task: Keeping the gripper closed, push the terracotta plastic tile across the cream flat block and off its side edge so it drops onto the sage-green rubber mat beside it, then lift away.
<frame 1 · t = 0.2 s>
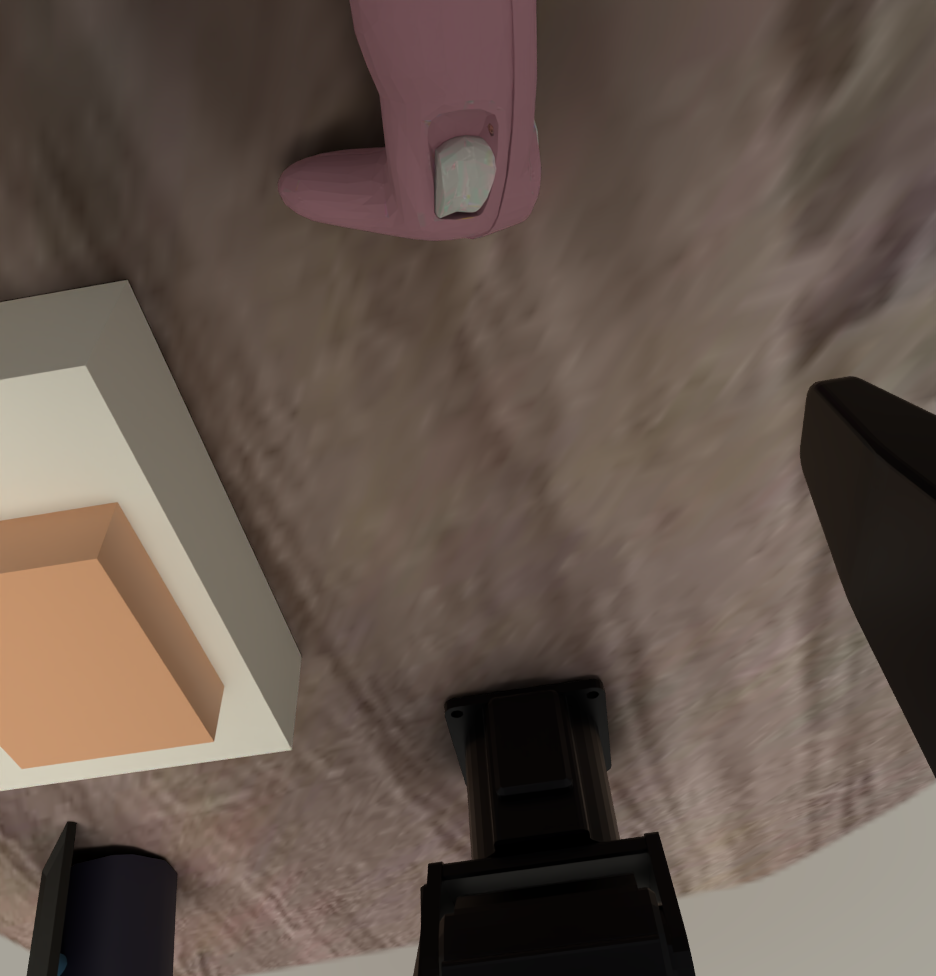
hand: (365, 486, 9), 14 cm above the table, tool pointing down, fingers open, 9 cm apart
cream flat block: (51, 532, 28), on the table
speaker: (126, 861, 43), on the table
tile: (75, 619, 25), point 4 cm above the table, touching cream flat block
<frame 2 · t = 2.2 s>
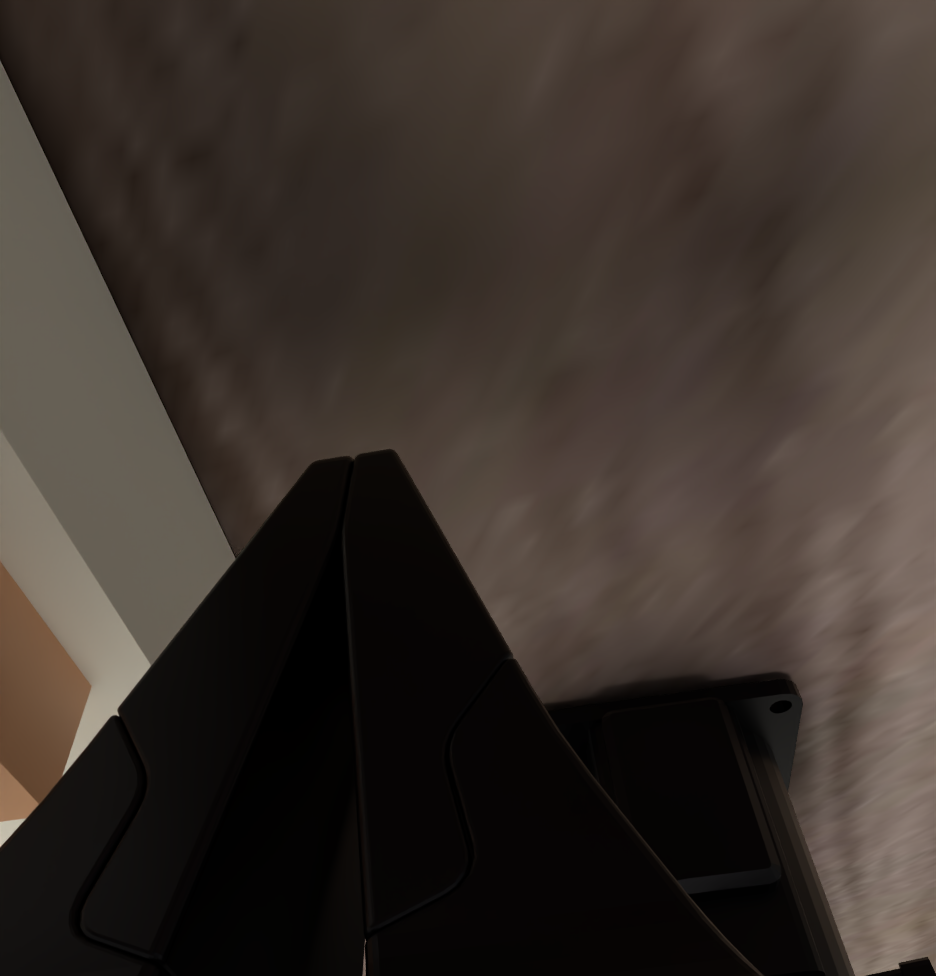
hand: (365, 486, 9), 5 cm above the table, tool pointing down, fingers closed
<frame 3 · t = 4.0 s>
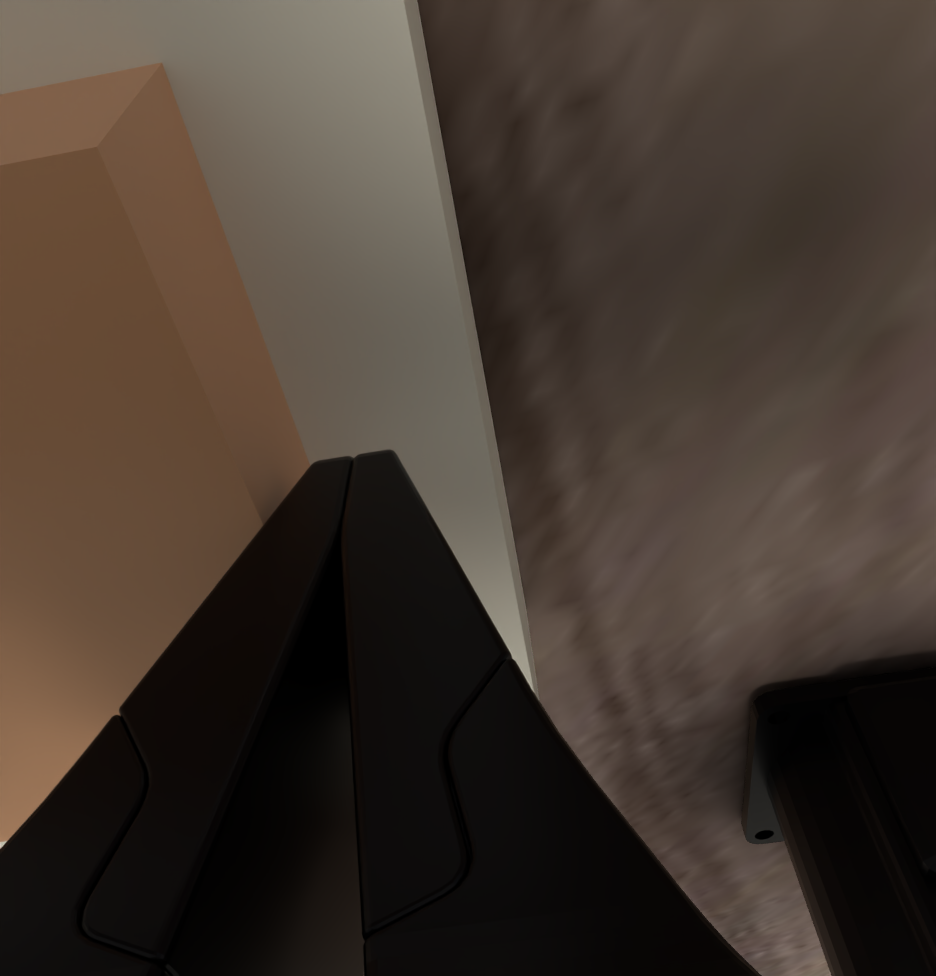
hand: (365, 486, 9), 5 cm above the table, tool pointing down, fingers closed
cream flat block: (69, 322, 13), on the table
tile: (46, 483, 10), point 4 cm above the table, touching cream flat block, gripper
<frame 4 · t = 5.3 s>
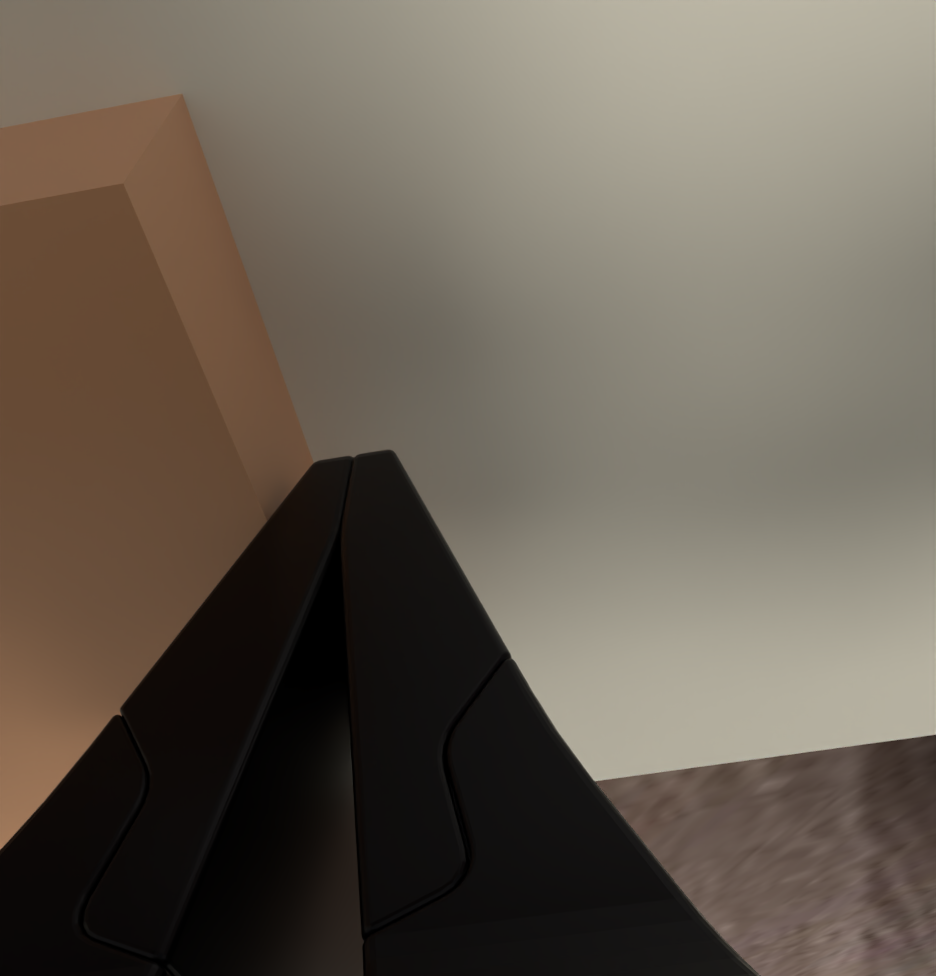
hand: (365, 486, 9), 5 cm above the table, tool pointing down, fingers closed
cream flat block: (500, 246, 13), on the table
tile: (61, 496, 10), point 4 cm above the table, touching cream flat block, gripper
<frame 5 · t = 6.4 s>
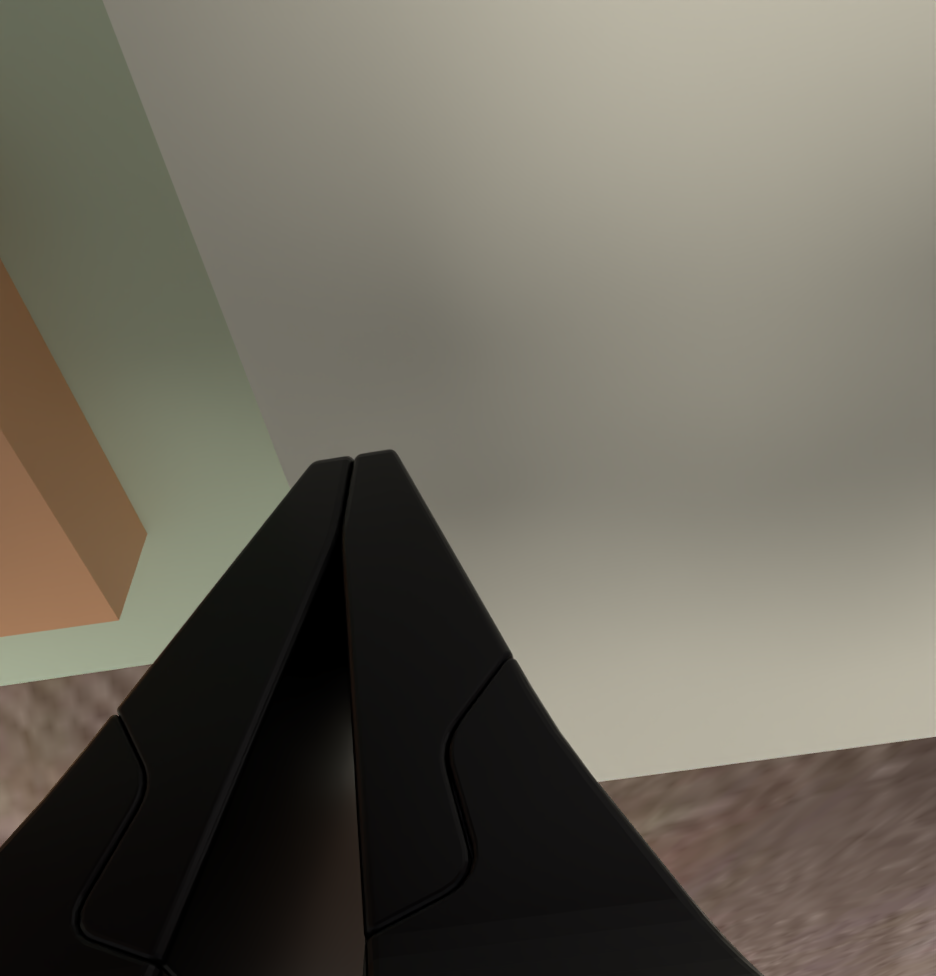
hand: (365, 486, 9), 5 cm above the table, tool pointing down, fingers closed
cream flat block: (713, 208, 12), on the table
mat: (4, 329, 13), on the table
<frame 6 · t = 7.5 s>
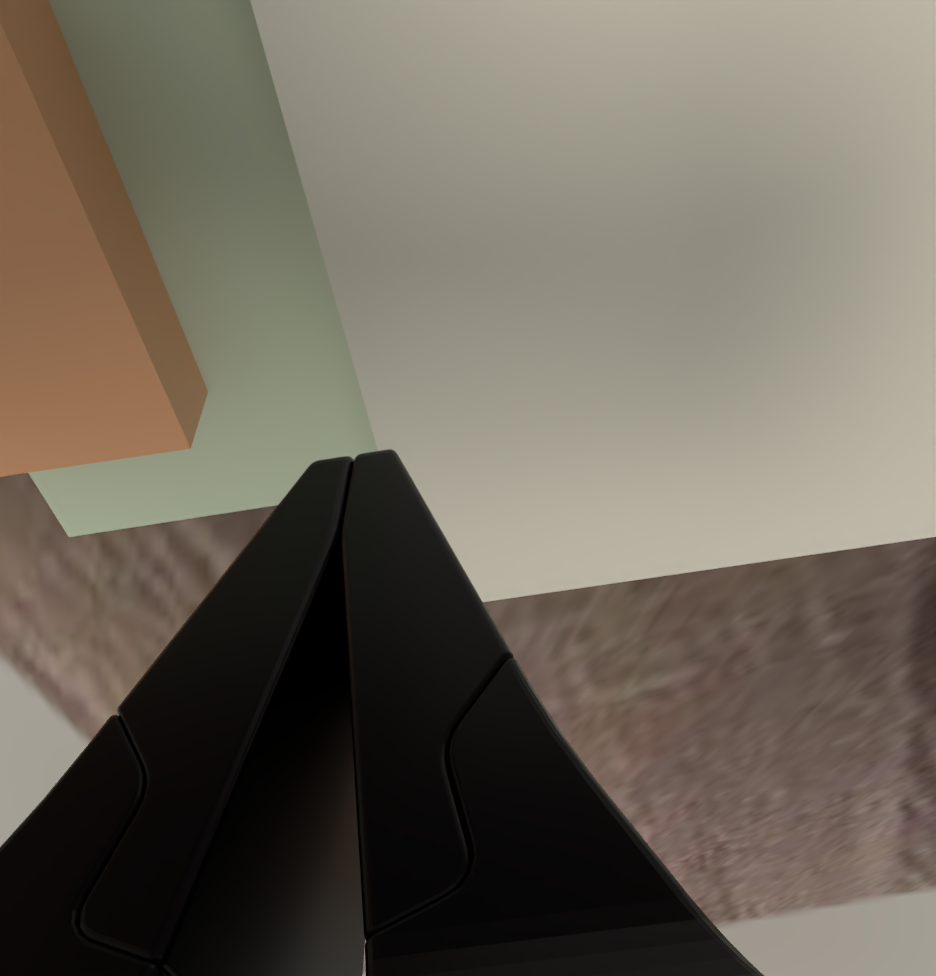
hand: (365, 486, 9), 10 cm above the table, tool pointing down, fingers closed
cream flat block: (660, 113, 16), on the table
mat: (104, 211, 17), on the table
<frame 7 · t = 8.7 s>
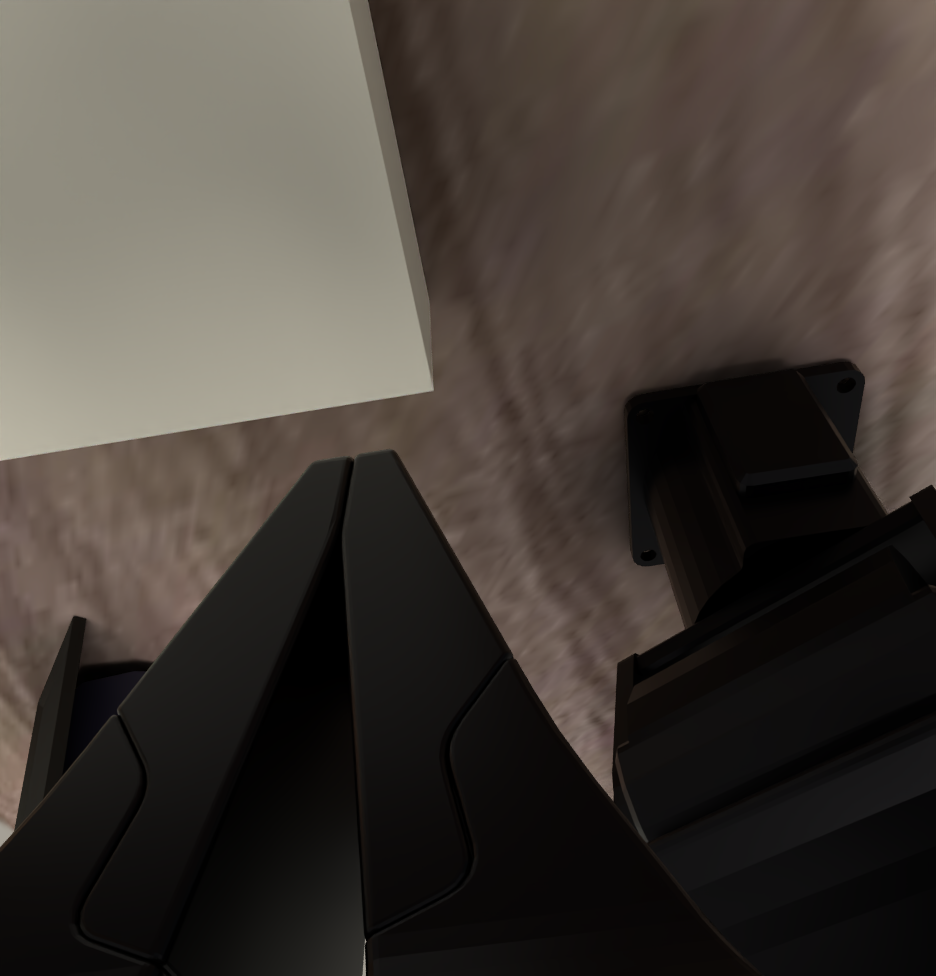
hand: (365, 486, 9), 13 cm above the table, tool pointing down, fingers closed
speaker: (151, 692, 32), on the table
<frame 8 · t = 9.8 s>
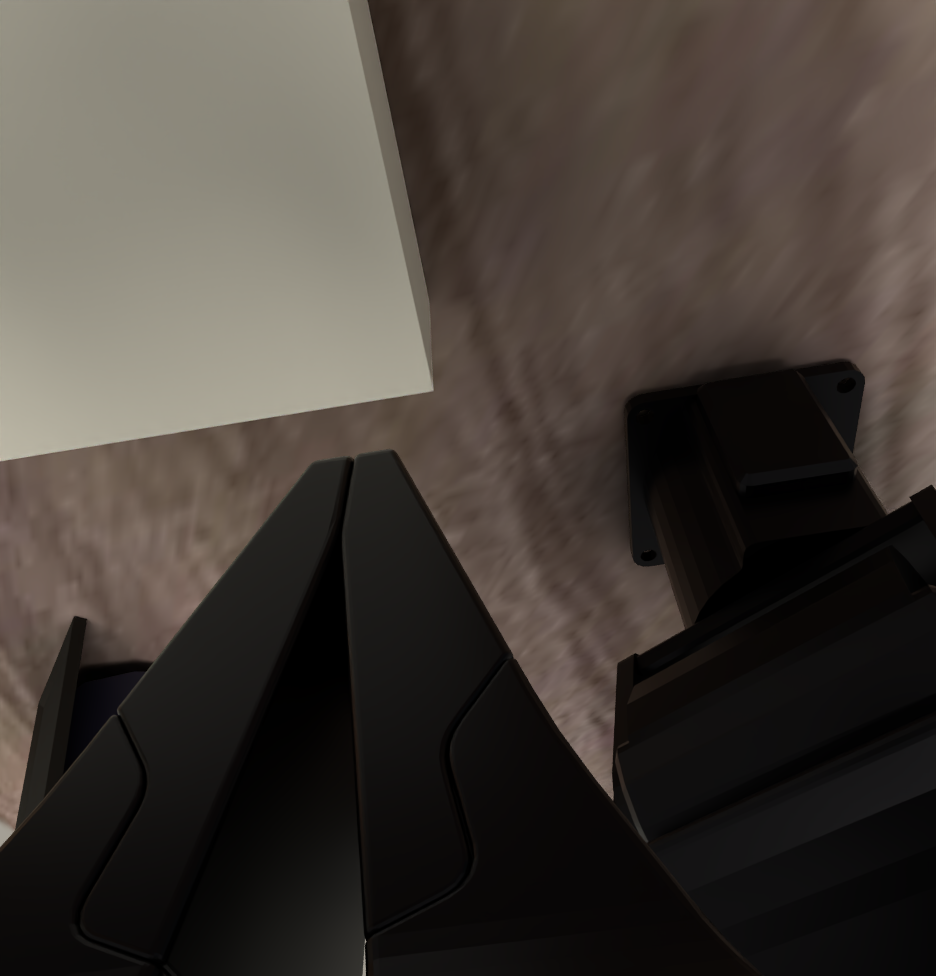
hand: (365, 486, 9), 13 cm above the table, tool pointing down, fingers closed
speaker: (151, 693, 32), on the table
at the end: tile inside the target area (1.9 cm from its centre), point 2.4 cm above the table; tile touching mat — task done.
